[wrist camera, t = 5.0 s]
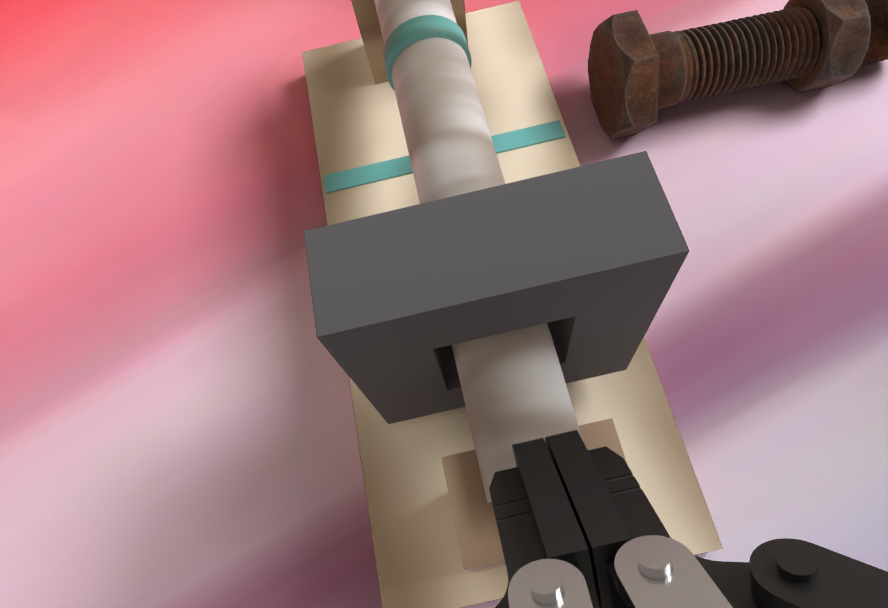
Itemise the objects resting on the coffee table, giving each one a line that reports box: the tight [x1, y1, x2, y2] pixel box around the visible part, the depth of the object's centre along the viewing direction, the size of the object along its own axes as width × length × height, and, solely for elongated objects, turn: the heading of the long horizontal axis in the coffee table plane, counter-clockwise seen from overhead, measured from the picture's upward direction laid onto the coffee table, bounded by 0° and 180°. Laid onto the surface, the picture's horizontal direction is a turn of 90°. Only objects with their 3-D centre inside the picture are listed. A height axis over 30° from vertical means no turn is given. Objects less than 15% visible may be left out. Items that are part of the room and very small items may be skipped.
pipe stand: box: [302, 0, 723, 608], centre depth 24 cm, size 12×28×9 cm, turn 12°
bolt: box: [588, 0, 888, 139], centre depth 29 cm, size 6×5×15 cm
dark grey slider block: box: [304, 151, 689, 424], centre depth 19 cm, size 9×3×9 cm, turn 102°
